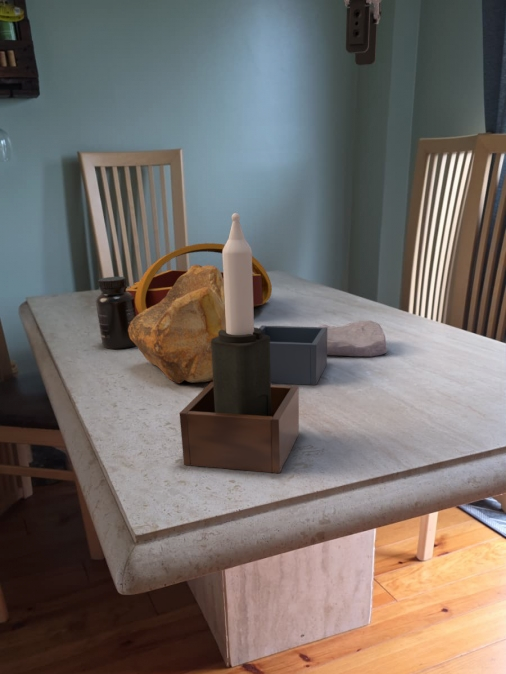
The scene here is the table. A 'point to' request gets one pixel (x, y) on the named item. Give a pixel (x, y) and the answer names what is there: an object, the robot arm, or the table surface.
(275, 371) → the crate right
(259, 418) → the crate left
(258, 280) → the decorative basket
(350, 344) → the stone block
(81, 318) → the table surface
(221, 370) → the candle
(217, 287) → the rough brown rock
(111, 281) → the supplement bottle
